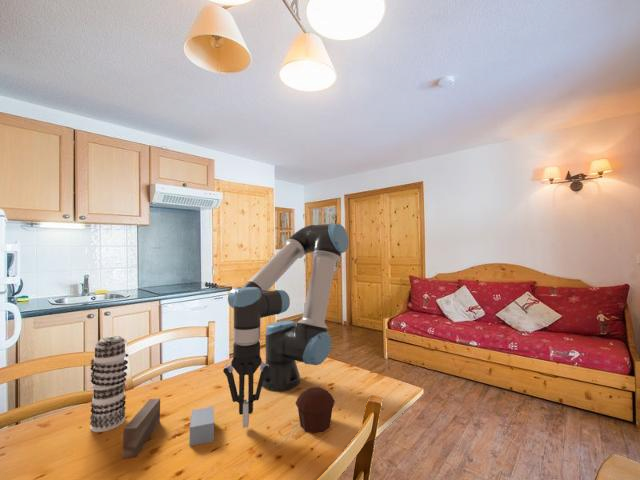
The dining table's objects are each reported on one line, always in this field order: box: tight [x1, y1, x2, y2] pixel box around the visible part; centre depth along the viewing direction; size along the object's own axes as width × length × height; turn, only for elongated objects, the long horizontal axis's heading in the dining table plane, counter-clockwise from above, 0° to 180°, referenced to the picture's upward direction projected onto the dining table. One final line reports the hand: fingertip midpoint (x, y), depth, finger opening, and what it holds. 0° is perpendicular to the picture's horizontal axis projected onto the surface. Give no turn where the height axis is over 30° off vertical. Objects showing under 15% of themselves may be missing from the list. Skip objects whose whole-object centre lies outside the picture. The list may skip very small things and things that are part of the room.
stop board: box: [122, 398, 161, 459], centre depth 81 cm, size 3×15×7 cm, turn 8°
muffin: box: [295, 386, 336, 435], centre depth 88 cm, size 12×11×10 cm
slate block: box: [189, 406, 215, 447], centre depth 83 cm, size 6×9×5 cm, turn 20°
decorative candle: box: [89, 335, 129, 433], centre depth 88 cm, size 9×9×25 cm
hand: (245, 424), depth 85 cm, fingers closed
